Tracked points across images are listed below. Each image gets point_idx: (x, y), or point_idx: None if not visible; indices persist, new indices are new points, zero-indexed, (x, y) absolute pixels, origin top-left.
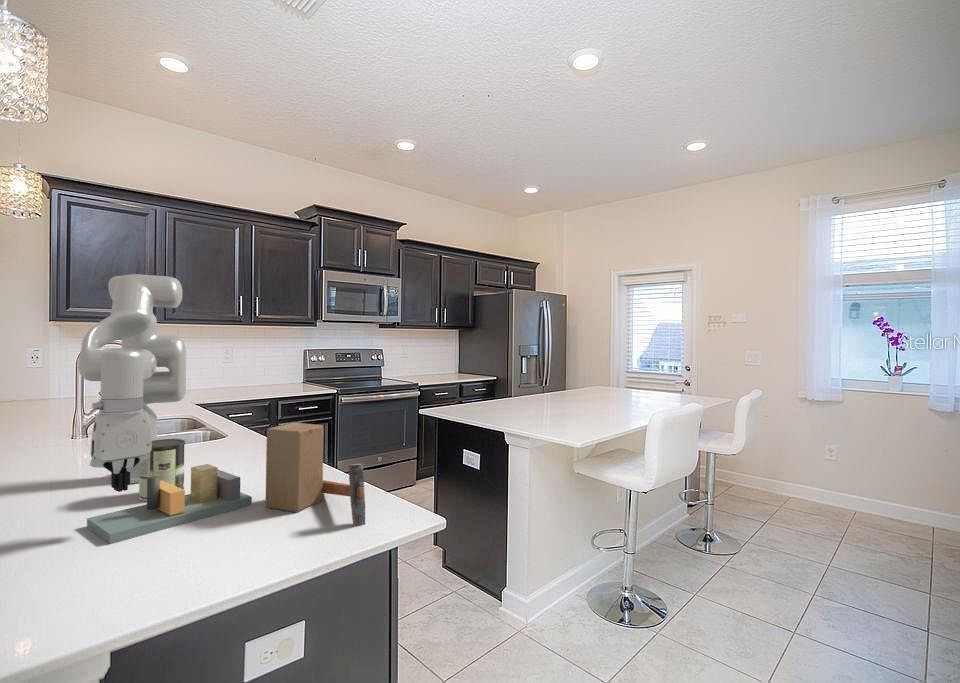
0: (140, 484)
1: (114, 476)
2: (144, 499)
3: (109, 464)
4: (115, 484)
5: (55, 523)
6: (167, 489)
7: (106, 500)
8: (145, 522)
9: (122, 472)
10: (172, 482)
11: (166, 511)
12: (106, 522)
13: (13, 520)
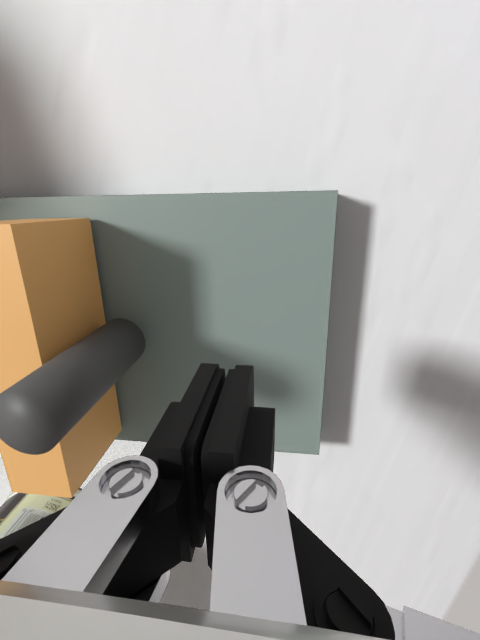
0: None
1: (267, 466)
2: None
3: (329, 615)
4: (263, 417)
5: (361, 534)
6: (13, 321)
7: (195, 601)
8: (186, 228)
9: (192, 490)
10: (1, 532)
11: (90, 260)
12: (290, 356)
13: None
